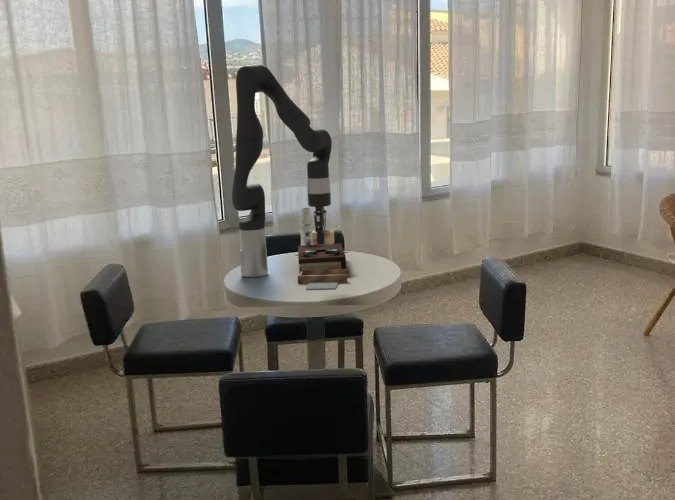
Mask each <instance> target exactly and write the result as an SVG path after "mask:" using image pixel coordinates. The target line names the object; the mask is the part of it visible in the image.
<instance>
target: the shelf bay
mask: <svg viewBox="0 0 675 500" xmlns="http://www.w3.org/2000/svg"><path fill="white" fill-rule="evenodd" d="M348 277H350V268H346V269H326V270H301V272H300V273H298V275H297V284H309V283H312V282H338V283H347V282H348Z"/></svg>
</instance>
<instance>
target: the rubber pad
mask: <svg viewBox="0 0 675 500" xmlns="http://www.w3.org/2000/svg"><path fill="white" fill-rule="evenodd" d="M338 285H339V282H312V283H307V285H306V288H305V290H307V291H308V290H309V291H310V290H311V291H312V290H315V291H316V290H336V289H337V287H338Z"/></svg>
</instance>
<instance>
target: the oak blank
mask: <svg viewBox="0 0 675 500" xmlns="http://www.w3.org/2000/svg"><path fill="white" fill-rule="evenodd" d="M324 244H335V230H334V229H325V230H324ZM312 245H320V244H318V243H317V233H316V231H315V230H314V231H313V232H312Z"/></svg>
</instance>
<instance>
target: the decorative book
mask: <svg viewBox="0 0 675 500" xmlns="http://www.w3.org/2000/svg"><path fill="white" fill-rule="evenodd" d="M297 250H298V251H297V252H298V253H297V254H295V255H294V256H297V258H298V267H299V268H298V269H299V270H298V271H299V273H300V272H301V270H326V269H347V260H346V253H347V254H348V253H349V252H348V251H344V248H343V245H342V243H341V242H340V243H334V244H320V245H303V246H301V245H298V246H297ZM299 273H298V274H299Z"/></svg>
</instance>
